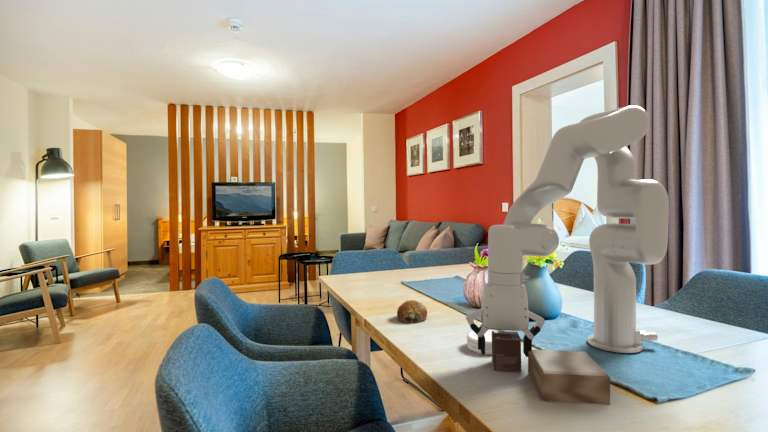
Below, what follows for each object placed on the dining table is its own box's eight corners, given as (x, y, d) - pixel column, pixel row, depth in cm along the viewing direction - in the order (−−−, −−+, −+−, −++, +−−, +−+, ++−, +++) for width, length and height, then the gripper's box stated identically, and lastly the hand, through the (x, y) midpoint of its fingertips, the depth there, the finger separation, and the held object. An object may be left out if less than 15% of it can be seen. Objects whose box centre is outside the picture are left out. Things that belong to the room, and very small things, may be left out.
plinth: (586, 376, 86) (586, 350, 86) (610, 404, 74) (610, 374, 74) (528, 374, 87) (527, 348, 87) (542, 400, 75) (541, 371, 75)
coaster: (459, 345, 107) (459, 332, 107) (490, 340, 111) (490, 327, 111) (482, 358, 98) (481, 343, 98) (515, 352, 101) (515, 338, 101)
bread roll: (430, 329, 132) (434, 305, 135) (416, 323, 124) (421, 298, 127) (403, 325, 137) (408, 302, 140) (389, 319, 129) (394, 294, 132)
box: (521, 373, 88) (521, 339, 88) (493, 371, 90) (493, 338, 89) (518, 362, 94) (518, 331, 94) (491, 360, 95) (491, 330, 95)
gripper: (540, 277, 94) (539, 350, 94) (465, 275, 96) (464, 346, 97) (549, 283, 86) (548, 362, 87) (467, 280, 89) (466, 357, 89)
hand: (504, 353), depth 92 cm, fingers open, 9 cm apart
